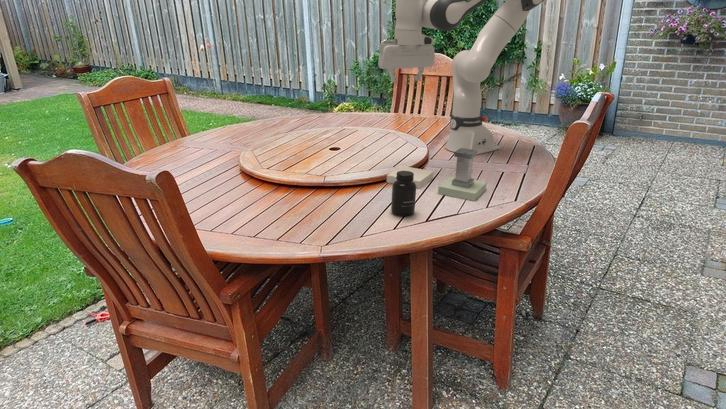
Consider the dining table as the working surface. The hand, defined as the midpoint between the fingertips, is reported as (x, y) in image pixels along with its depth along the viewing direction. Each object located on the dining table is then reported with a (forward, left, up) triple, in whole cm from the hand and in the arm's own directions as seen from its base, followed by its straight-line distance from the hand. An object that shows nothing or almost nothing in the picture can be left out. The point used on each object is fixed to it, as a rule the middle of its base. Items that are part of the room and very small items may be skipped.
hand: (405, 81), depth 167 cm
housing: (-6, +29, -29) cm, 41 cm away
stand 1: (+4, +13, -31) cm, 34 cm away
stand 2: (-6, +29, -31) cm, 43 cm away
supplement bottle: (+20, +36, -31) cm, 52 cm away
